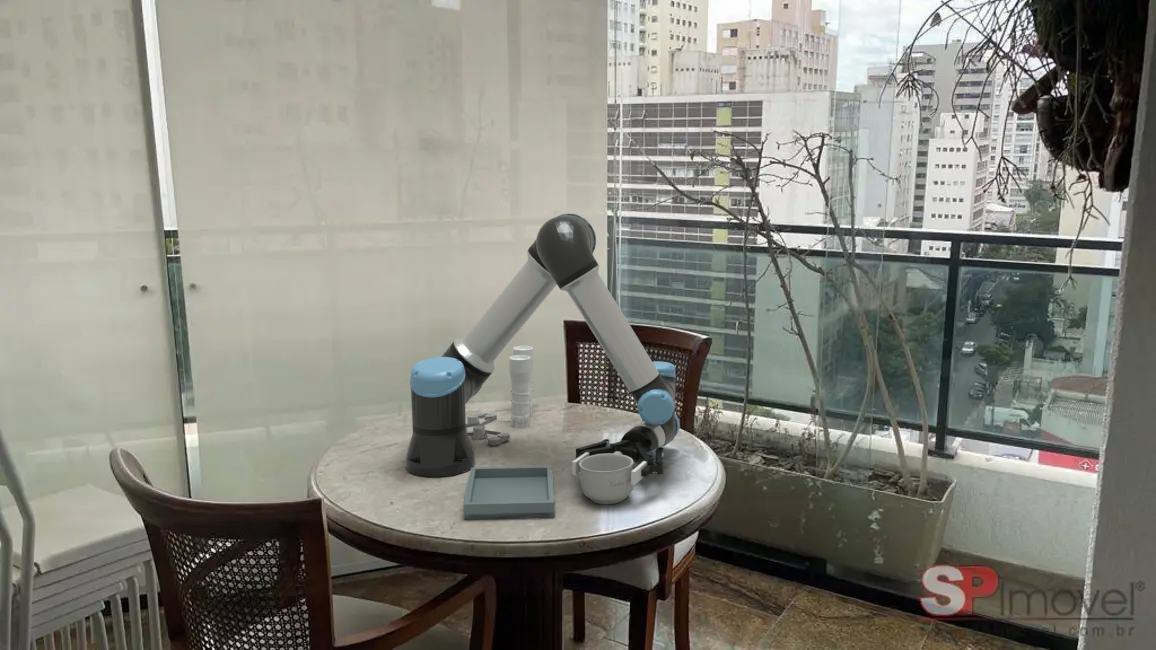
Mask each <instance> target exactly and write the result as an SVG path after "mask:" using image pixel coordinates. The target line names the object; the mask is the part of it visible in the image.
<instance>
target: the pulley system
mask: <svg viewBox="0 0 1156 650" xmlns="http://www.w3.org/2000/svg"><path fill="white" fill-rule="evenodd" d="M484 417H485V421H483V422H480V419H484ZM466 419H467V420H466V422H467V423H466V432H467V435H468V437H473V439H474V440H483V439H486V440H487V444H488V445H491V446H493V447H496V446H497V445H499V444H501V443H503V442H506V441H508V440H510V439H511V433H509V432H502V431H494V430H488V429H486V427H485V425H488V424H490V423H491V422H493V421H496V420H497V419H498V417H497V413H494V412H493V413H492V412H491V413H486V412H477V413H476V412H475V413H474V414H469V415H466ZM486 419H487V420H486ZM468 428H472V431H471V432H468ZM488 435H492V436H489V437H488Z"/></svg>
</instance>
